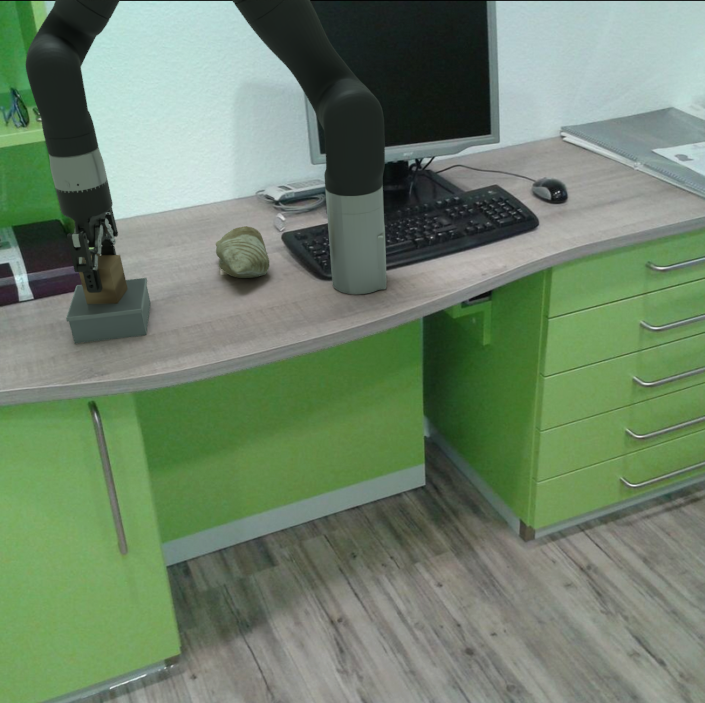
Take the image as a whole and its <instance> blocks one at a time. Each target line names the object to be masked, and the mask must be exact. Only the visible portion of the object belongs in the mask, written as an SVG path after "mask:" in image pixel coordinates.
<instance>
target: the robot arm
mask: <svg viewBox="0 0 705 703" xmlns="http://www.w3.org/2000/svg"><path fill="white" fill-rule="evenodd" d="M120 1H121V0H54V4H53V6H52V9H51V10H50V11H49V12H48V14H47V16H46V17H45V18H44V21H43V22H42V24H41V26H40V27H39V29H38V30H37V32H36V33H35V36H34V37H33V40H32V41H31V43H30V45H29V47H28V49H27V52H26V59H25V70H26V71H25V72H26V76H27V79H28V83H29V86H30V90H31V93H32V97H33V99H34V103H35V105H36V108H37V110H38V113H39V116H40V120H41V127H42V132H43V137H44V141H45V145H46V149H47V152H48V157H49V165H50V166H49V168H50V173H51V177H52V181H53V184H54V189H55V192H56V196H57V200H58V204H59V209H60V211H61V214H62V215H63V216H64V217H66V218H69V219H72V220H73V221H74V232H73V233H71V232H70V233H67V235H66V239H67V243H68V244H67V245H68V248H69V251H70V256H71V261H72V265H73V270H74V272H75V273H79V272H83V275H84V279H85V283H86V287H87V291H88V292H89V293H99V292H101V291H102V289H103V287H102V283H101V278H100V274H99V270H98V256H99V255H117V251H116V248H115V245H116V242H117V240H116V238H117V237H118V235H119V231H118V227H117V222H116V219H115V214H114V210H113V198H112V195H111V189H110V186H109V181H108V180H109V179H108V176H107V171H106V166H105V162H104V159H103V157H102V156H103V155H102V154H101V151H100V147H99V143H98V139H97V133H96V129H95V126H94V121H93V118H92V115H91V113H90V111H89V108H88V102H87V96H86V89H85V85H84V78H83V73H82V65H83V63H84V60H85V58H86V57H87V55H88V53H89V51H90V50H91V47H92V45H93V43H94V42H95V39H96V37H98V35H99V34H101V33H102V32H103V31H104V29H105V28H106V27H107V25H108V23H109V21H110V19H111V18H112V16H113V14H114V13H115V10H116V8H117V7H118V5H119V3H120ZM231 1H232V3H233V4H234V5H235V7H236V8H237V10H238V11H239V13H240V14H241V16H243V18H244V19H245V21H246V22H247V23H248V25H249V26H250V28H251V29H252V31H254V33H255V34H256V35H257V36H258V38H260V40H261V41H262V42H263V44H265V45H266V47H267V48H268V49H269V50H270V51H271V52H272V53H273V54H274V55H275V56H276V58H278V59H279V61H281V62H282V63H283V65H285V66H286V68H287V69H288V70H289V71H290V73H291V74H292V75H293V77H294V78H295V79H296V81H297V83H298V84H299V86H300V88H301V89H302V91H303V93H304V95H305V96H306V98H307V100H308V102H309V104H310V105H311V107H312V109H313V111H314V113H315V114H316V117H317V119H318V122H319V124H320V126H321V127H322V129H323V135H324V137H323V138H324V149H325V172H324V187H325V190H324V191H325V202H326V214H327V215H326V216H327V227H328V239H329V240H328V241H329V255H330V268H331V270H330V271H331V272H330V274H331V280H332V281H331V282H332V286H333V289H334V288H335V290H336V291H338V292H341V293H343V294H349V295H364V294H365V295H366V294H370V293H374V292H377V291H380V290H386V289H387V256H386V255H387V253H386V250H387V249H386V227H385V215H384V214H385V213H384V191H383V190H384V188H383V187H384V186H383V185H384V184H383V183H384V182H383V176H384V171H385V167H386V166H385V165H386V164H385V163H386V157H385V156H386V152H385V150H386V149H385V148H386V145H385V144H386V143H385V141H386V140H385V139H386V138H385V117H384V112H383V108H382V105H381V103H380V101H379V99H378V98H377V97H376V96H375V95H374V93H373V92H372V91H371V90H370V89H369V88H368V87H367V86H366V85H365V84H364V83H363V82H362V81H361V80H360V79H359V77H357V75H355V73H354V72H353V71H352V70H351V69H350V67H349V66H348V65H347V63H346V62H345V61H344V59H342V57H341V56H340V55H339V53H338V52H337V50H336V49H335V48H334V46H333V45H332V43H331V42H330V39H329V38H328V36H327V34H326V32H325V30H324V27H323V25H322V23H321V20H320V19H319V16H318V14H317V12H316V9H315V7H314V5H313V4H312V2H311V0H231ZM115 237H116V238H115ZM91 256H92V260H91ZM85 261H86V263H85Z"/></svg>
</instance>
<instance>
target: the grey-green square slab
mask: <svg viewBox="0 0 705 703" xmlns="http://www.w3.org/2000/svg"><path fill="white" fill-rule="evenodd" d="M126 283H127V288H128V289H127V291H126V292H125V294H124V295H123V297H122V298H121V300H120V301H119V302H118V303H116V304H87V302H86V298H85V294H84V290H83V286H82V284H77V285H76V286H75V289H74V292H73V296H72V298H71V301H70V305H69V308H68V311H67V315H66V317H65V318H66V322H68V323H69V328H70V330H71V334H72V339H73V342H74V344H81V342H84V343H90V341H92V342H100V341H109V340H116V339H125V338H134V337H142V336H147V331H148V325H149V317H150V310H151V300H150V299H151V298H150V295H149V289H148V278H147V277H140V278H139V277H138V278H131V279H126Z"/></svg>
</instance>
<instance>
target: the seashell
mask: <svg viewBox="0 0 705 703" xmlns="http://www.w3.org/2000/svg"><path fill="white" fill-rule="evenodd" d="M264 241H265V240H264V238H263V236H262V234H261V232H260V231H259V230H258V229H256V228H255V227H251V226H240V227H236V228H233V229H232V230H230V231H228V232H227V233H225V234H224V235H223V236H222V237H221V238H220V239H219V240H217V241H216V242H215V246H216V249H215V254H216V256H217V258H219V262H218V267H219V268H220V270H222V271H223V272H224V273H226V274H228V275H229V276H231V277H234V278H236V279H237V278H238V279H250V278H257V277H258V278H259V277H260V276H265V275H266V274H267V273H268V270H269V268H270V258H269V255H268V252H267V249H266V245H265V242H264Z"/></svg>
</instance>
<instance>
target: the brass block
mask: <svg viewBox="0 0 705 703" xmlns="http://www.w3.org/2000/svg"><path fill="white" fill-rule="evenodd" d="M91 260H92V256H91ZM85 263H86V261H85ZM98 270H99V274H100V278H101V283H102V287H103V289H102V291H101V292H99V293H89V292H88V291H87V287H86V283H85V279H84V275H83V272H78V273H79V277H80V282H81V285H82V286H83V290H84V294H85V298H86V302H87V304H116V303H118V302H119V301H120V300H121V298H122V297H123V295H124V294H125V292H126V291H127V289H128V288H127V283H126V280H127V279H126V276H125V271H124V270H125V269H124V266H123V263H122V258H121V255H120V254H116V255H101V254H100V255H99V256H98Z"/></svg>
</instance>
